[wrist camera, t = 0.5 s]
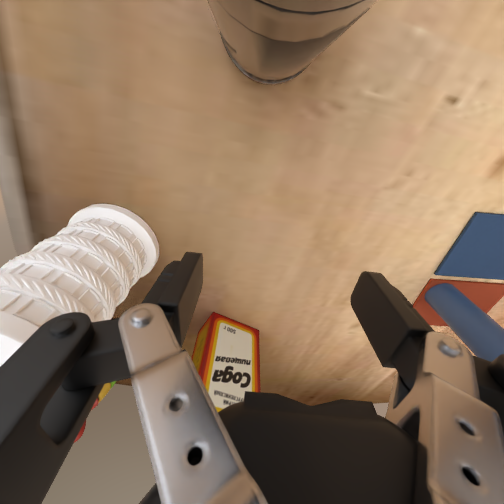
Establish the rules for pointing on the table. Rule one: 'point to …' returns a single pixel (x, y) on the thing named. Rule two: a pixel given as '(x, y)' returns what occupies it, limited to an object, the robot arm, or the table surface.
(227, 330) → the baking soda box
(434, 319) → the terracotta mat
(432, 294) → the blue cylinder
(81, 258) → the decorative container
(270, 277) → the table surface
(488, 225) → the blue mat
